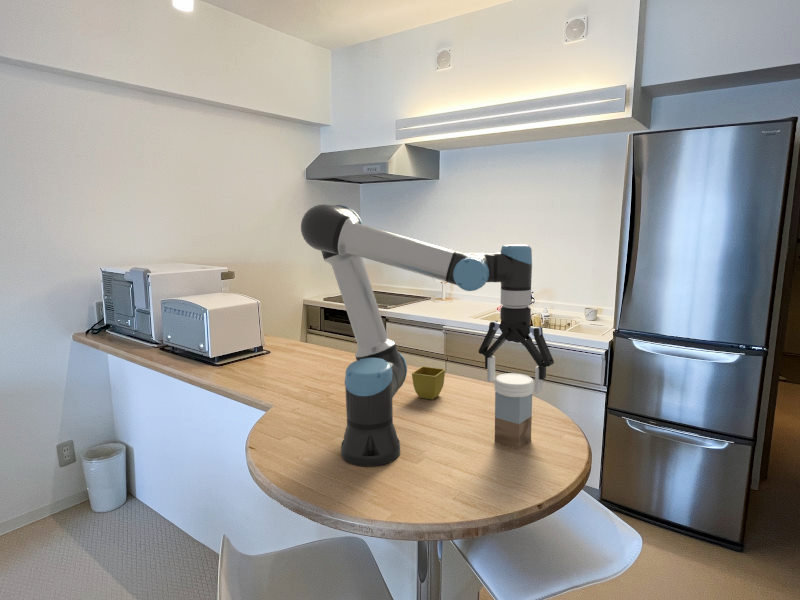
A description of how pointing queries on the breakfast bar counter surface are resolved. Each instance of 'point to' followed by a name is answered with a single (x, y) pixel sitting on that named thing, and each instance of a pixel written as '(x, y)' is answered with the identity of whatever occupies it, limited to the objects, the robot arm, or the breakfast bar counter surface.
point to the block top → (513, 408)
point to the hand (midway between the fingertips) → (513, 385)
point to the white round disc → (514, 385)
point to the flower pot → (428, 382)
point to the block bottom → (513, 433)
